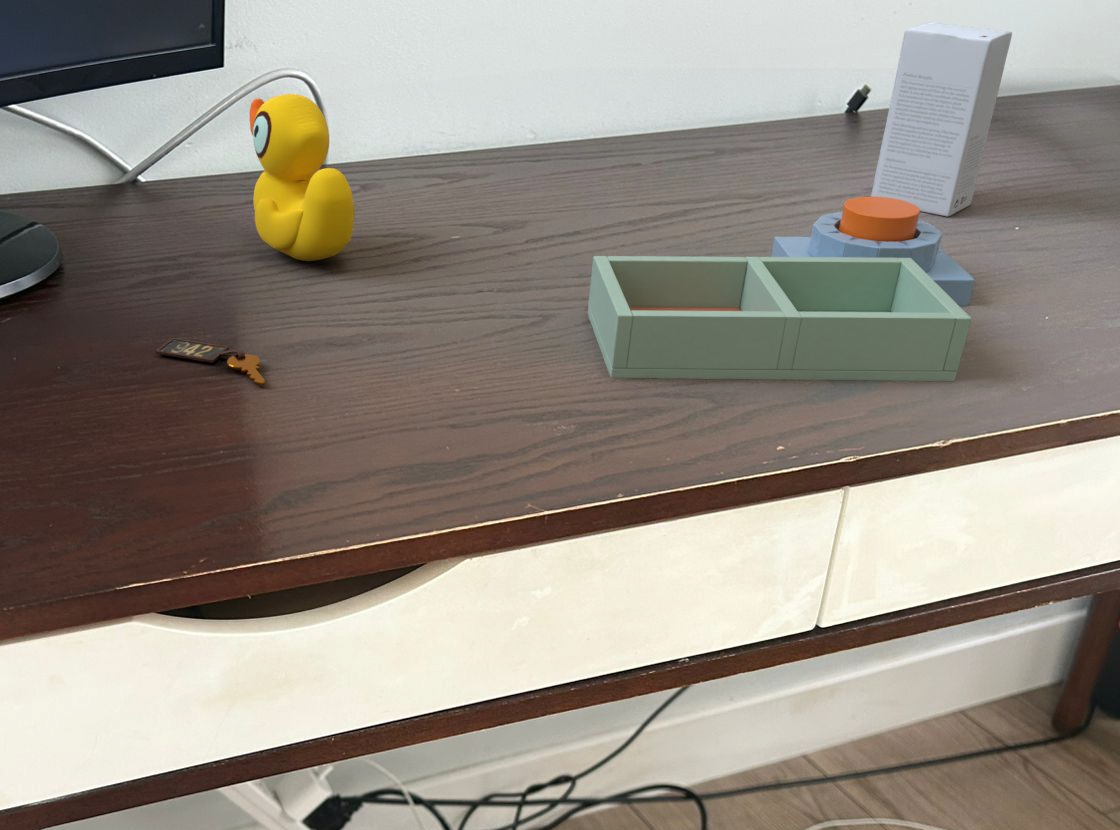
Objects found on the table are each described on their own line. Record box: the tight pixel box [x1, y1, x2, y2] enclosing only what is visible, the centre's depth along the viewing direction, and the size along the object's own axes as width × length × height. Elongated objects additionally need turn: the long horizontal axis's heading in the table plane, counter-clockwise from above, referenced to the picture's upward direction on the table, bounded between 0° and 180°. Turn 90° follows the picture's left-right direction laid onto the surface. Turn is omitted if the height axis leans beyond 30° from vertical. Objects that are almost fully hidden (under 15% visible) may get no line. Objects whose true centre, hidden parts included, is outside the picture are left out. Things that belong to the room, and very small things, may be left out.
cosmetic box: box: [870, 22, 1013, 217], centre depth 97 cm, size 6×4×12 cm
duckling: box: [249, 93, 356, 262], centre depth 89 cm, size 11×5×10 cm, turn 29°
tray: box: [587, 255, 972, 382], centre depth 77 cm, size 18×10×4 cm, turn 88°
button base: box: [770, 210, 976, 307], centre depth 85 cm, size 10×8×4 cm
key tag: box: [155, 337, 266, 386], centre depth 76 cm, size 8×3×1 cm, turn 53°
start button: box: [839, 196, 921, 242], centre depth 84 cm, size 4×4×2 cm
